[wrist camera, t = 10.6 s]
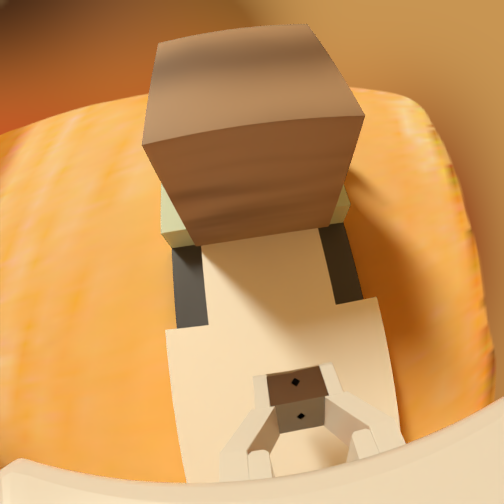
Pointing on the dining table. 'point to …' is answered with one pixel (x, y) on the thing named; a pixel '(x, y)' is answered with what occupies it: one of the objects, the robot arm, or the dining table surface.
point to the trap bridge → (268, 336)
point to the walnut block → (250, 131)
